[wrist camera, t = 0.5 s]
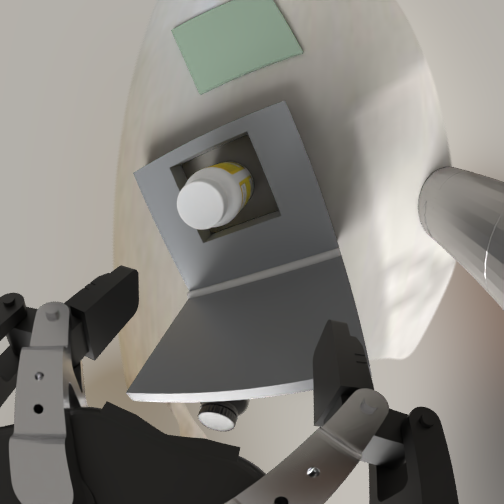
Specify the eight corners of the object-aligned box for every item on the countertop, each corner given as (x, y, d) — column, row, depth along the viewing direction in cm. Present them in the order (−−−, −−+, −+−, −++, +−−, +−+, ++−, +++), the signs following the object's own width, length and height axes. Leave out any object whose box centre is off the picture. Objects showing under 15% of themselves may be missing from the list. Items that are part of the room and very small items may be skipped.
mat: (266, -10, 20) (265, -12, 19) (303, 53, 23) (302, 52, 22) (172, 31, 23) (171, 30, 23) (201, 94, 26) (199, 93, 26)
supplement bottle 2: (256, 378, 41) (241, 439, 30) (215, 370, 42) (192, 428, 31) (259, 348, 38) (243, 414, 27) (213, 340, 39) (186, 402, 28)
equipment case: (286, 104, 25) (259, 41, 8) (339, 249, 30) (371, 376, 13) (146, 169, 31) (18, 211, 13) (202, 289, 36) (133, 400, 18)
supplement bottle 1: (198, 179, 30) (156, 196, 21) (236, 151, 28) (205, 156, 19) (225, 217, 31) (194, 249, 22) (264, 191, 29) (247, 215, 21)
